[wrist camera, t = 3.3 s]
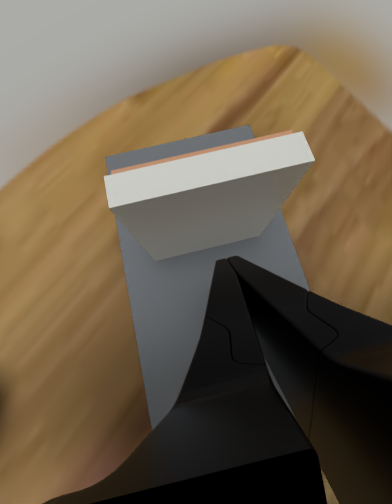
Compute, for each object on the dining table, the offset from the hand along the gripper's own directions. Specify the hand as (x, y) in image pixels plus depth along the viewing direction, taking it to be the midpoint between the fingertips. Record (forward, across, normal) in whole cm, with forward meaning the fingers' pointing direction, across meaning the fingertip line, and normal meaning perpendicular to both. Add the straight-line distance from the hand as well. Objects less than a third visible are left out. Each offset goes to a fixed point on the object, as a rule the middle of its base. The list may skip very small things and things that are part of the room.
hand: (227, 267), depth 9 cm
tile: (+6, 0, +2) cm, 7 cm away
